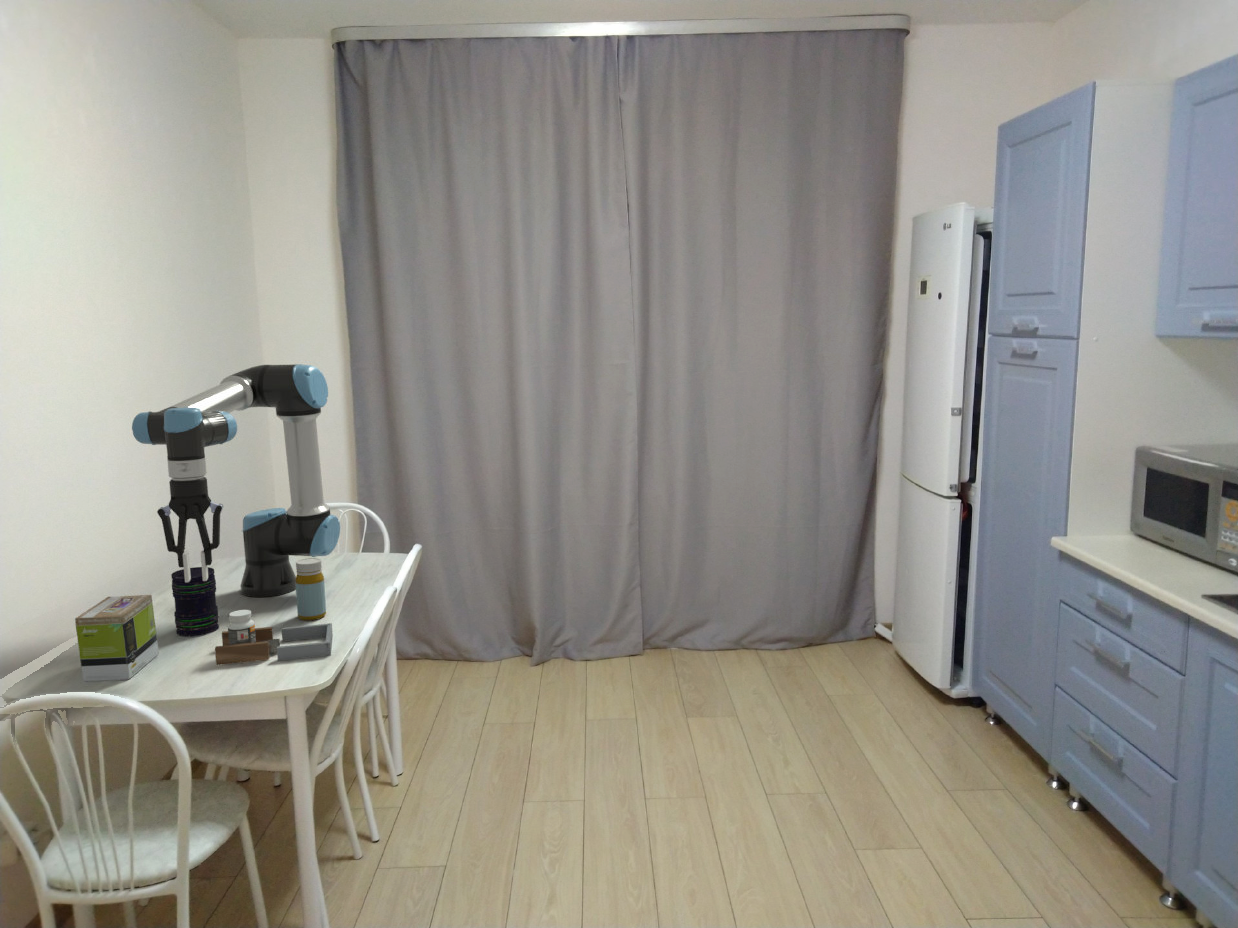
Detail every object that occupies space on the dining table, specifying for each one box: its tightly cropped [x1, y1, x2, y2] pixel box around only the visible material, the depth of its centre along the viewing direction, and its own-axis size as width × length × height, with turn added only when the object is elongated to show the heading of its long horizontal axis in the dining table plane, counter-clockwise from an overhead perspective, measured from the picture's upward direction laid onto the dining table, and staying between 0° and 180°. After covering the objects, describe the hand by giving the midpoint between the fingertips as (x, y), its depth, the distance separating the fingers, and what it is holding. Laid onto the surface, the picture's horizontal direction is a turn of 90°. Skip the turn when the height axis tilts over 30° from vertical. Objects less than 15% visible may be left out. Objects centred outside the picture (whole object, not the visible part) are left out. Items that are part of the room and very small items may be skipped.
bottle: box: [295, 557, 327, 621], centre depth 227 cm, size 7×7×15 cm
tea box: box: [74, 594, 159, 683], centre depth 194 cm, size 15×10×15 cm, turn 5°
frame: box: [276, 622, 334, 662], centre depth 207 cm, size 14×12×3 cm
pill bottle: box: [227, 609, 256, 645], centre depth 202 cm, size 6×6×10 cm
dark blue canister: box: [170, 566, 220, 638], centre depth 218 cm, size 10×10×15 cm
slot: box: [214, 626, 274, 666], centre depth 203 cm, size 11×11×4 cm
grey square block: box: [261, 638, 281, 656], centre depth 204 cm, size 4×4×2 cm
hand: (196, 579), depth 198 cm, fingers open, 3 cm apart
